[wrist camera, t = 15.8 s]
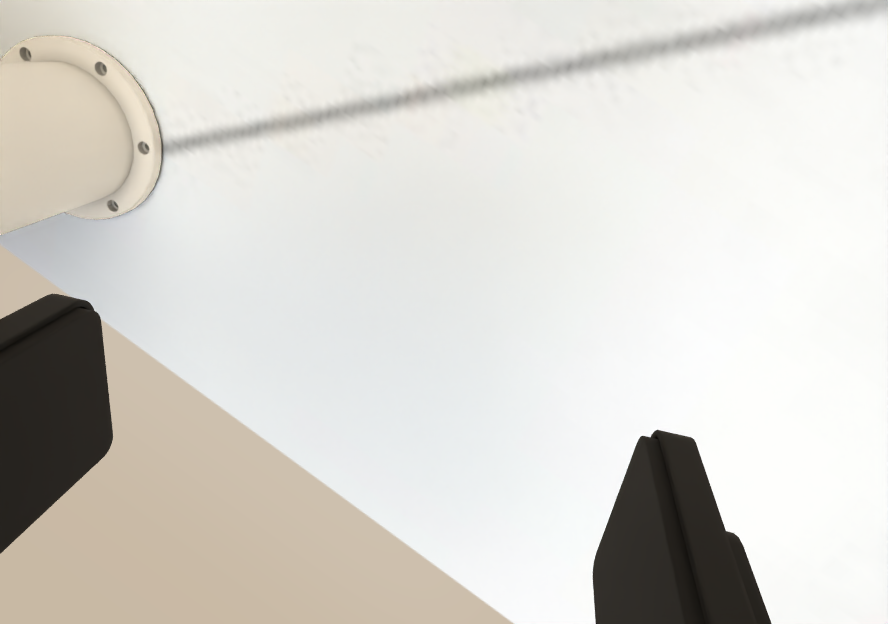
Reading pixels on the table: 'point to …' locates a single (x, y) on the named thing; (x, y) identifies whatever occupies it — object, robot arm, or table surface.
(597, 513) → the table surface
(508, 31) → the table surface
